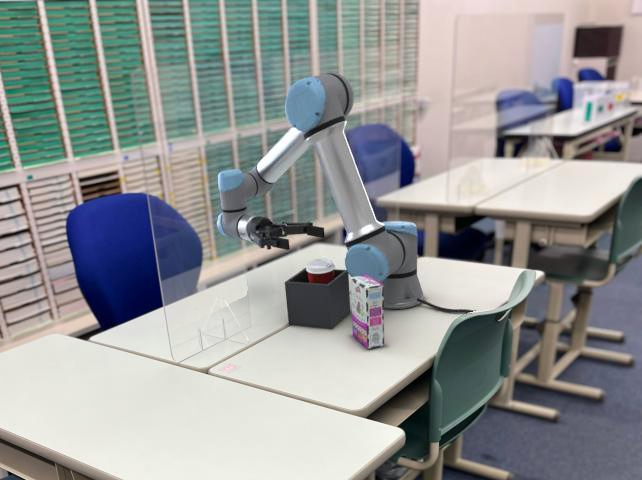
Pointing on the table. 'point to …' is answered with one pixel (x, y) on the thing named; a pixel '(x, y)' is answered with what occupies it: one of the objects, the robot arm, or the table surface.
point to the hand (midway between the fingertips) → (306, 238)
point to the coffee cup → (320, 271)
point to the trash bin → (317, 300)
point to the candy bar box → (367, 311)
